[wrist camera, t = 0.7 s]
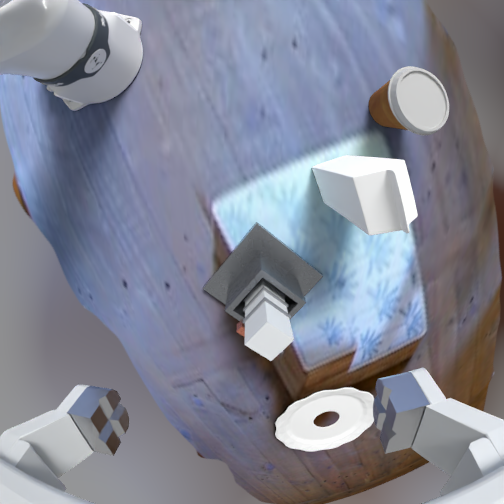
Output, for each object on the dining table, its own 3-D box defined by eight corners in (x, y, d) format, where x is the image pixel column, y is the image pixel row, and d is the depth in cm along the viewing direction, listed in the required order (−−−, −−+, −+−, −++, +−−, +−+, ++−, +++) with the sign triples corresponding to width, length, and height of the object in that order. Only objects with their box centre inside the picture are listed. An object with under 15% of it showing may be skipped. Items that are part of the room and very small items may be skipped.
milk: (323, 202, 45) (380, 247, 24) (310, 166, 43) (363, 181, 23) (358, 190, 45) (434, 224, 24) (346, 154, 43) (421, 161, 22)
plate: (302, 455, 67) (303, 460, 65) (254, 413, 60) (254, 419, 58) (385, 418, 63) (388, 423, 61) (356, 365, 56) (359, 371, 54)
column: (243, 285, 48) (242, 345, 33) (261, 265, 47) (267, 319, 32) (264, 300, 49) (271, 362, 34) (282, 281, 48) (296, 339, 33)
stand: (203, 286, 49) (193, 317, 40) (256, 221, 46) (258, 240, 37) (267, 330, 52) (271, 365, 43) (321, 273, 49) (337, 302, 40)
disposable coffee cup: (358, 76, 38) (391, 56, 27) (409, 87, 39) (449, 75, 27) (358, 132, 42) (393, 128, 30) (409, 140, 42) (451, 141, 30)
